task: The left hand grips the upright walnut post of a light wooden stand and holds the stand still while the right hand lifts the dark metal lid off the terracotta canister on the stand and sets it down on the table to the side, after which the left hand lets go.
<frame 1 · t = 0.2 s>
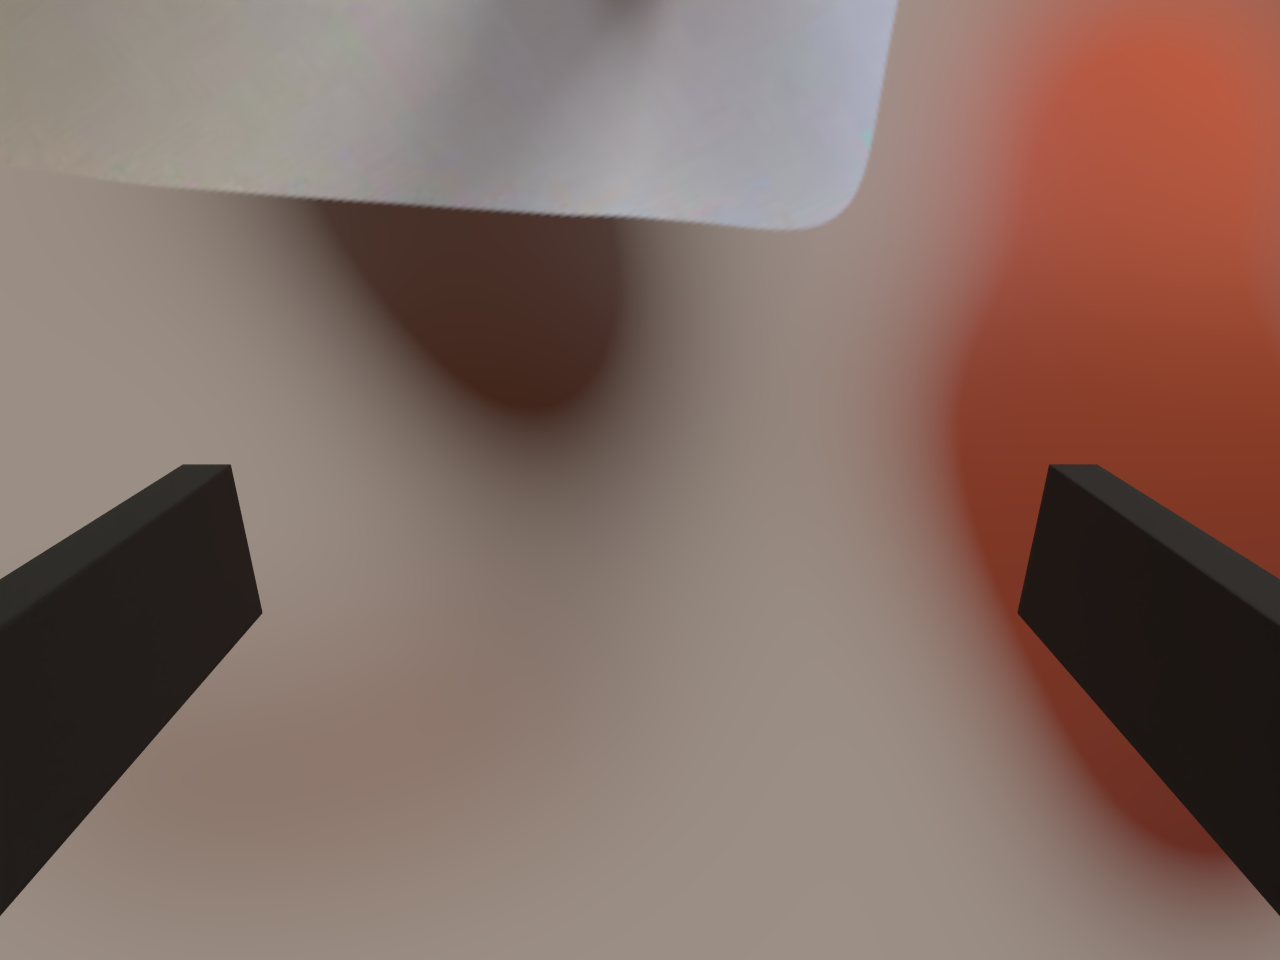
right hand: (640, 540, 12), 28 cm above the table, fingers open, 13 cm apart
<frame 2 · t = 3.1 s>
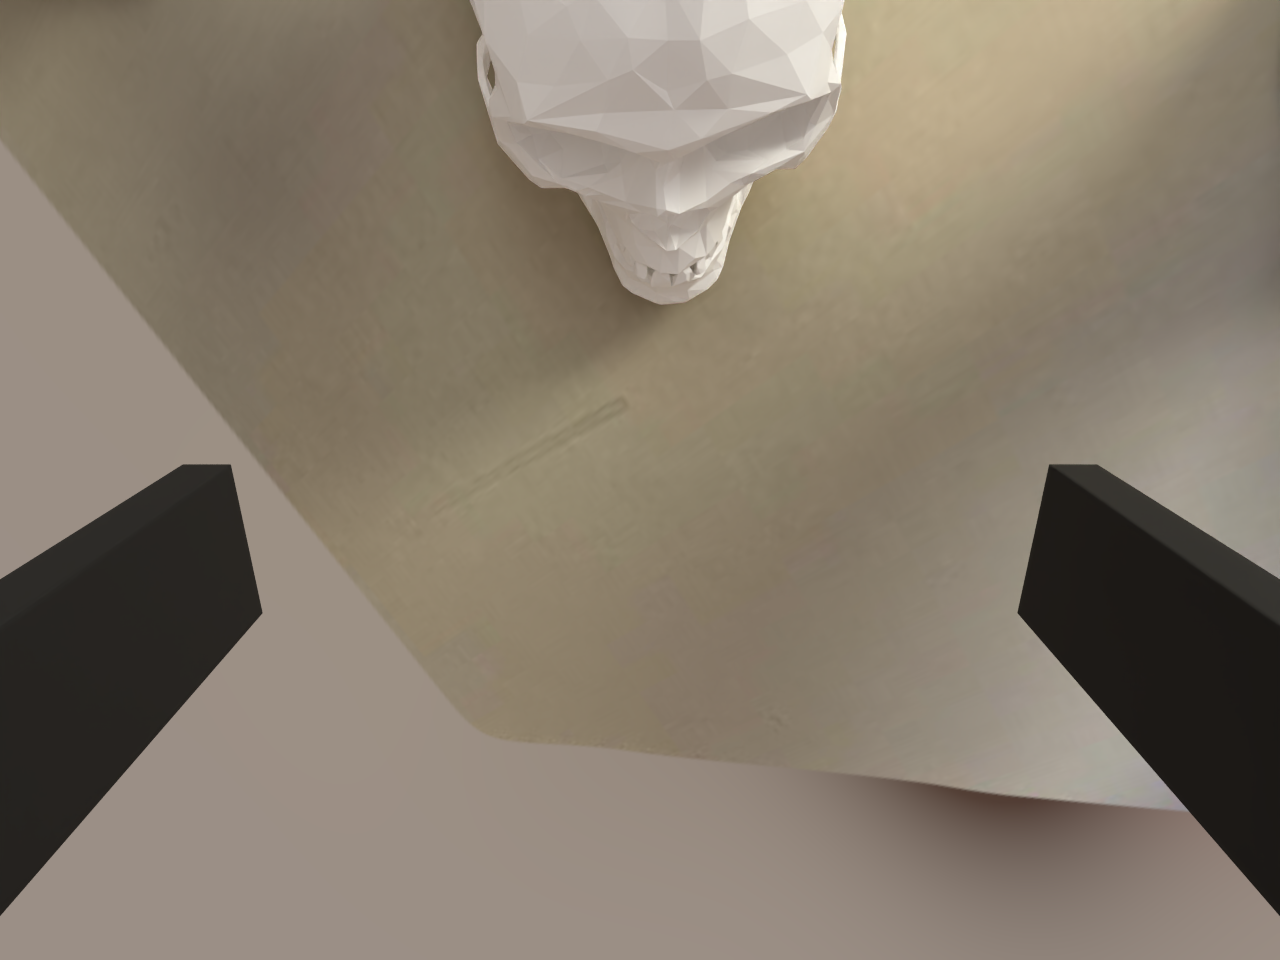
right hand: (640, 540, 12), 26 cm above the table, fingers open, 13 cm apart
skull: (656, 39, 33), on the table
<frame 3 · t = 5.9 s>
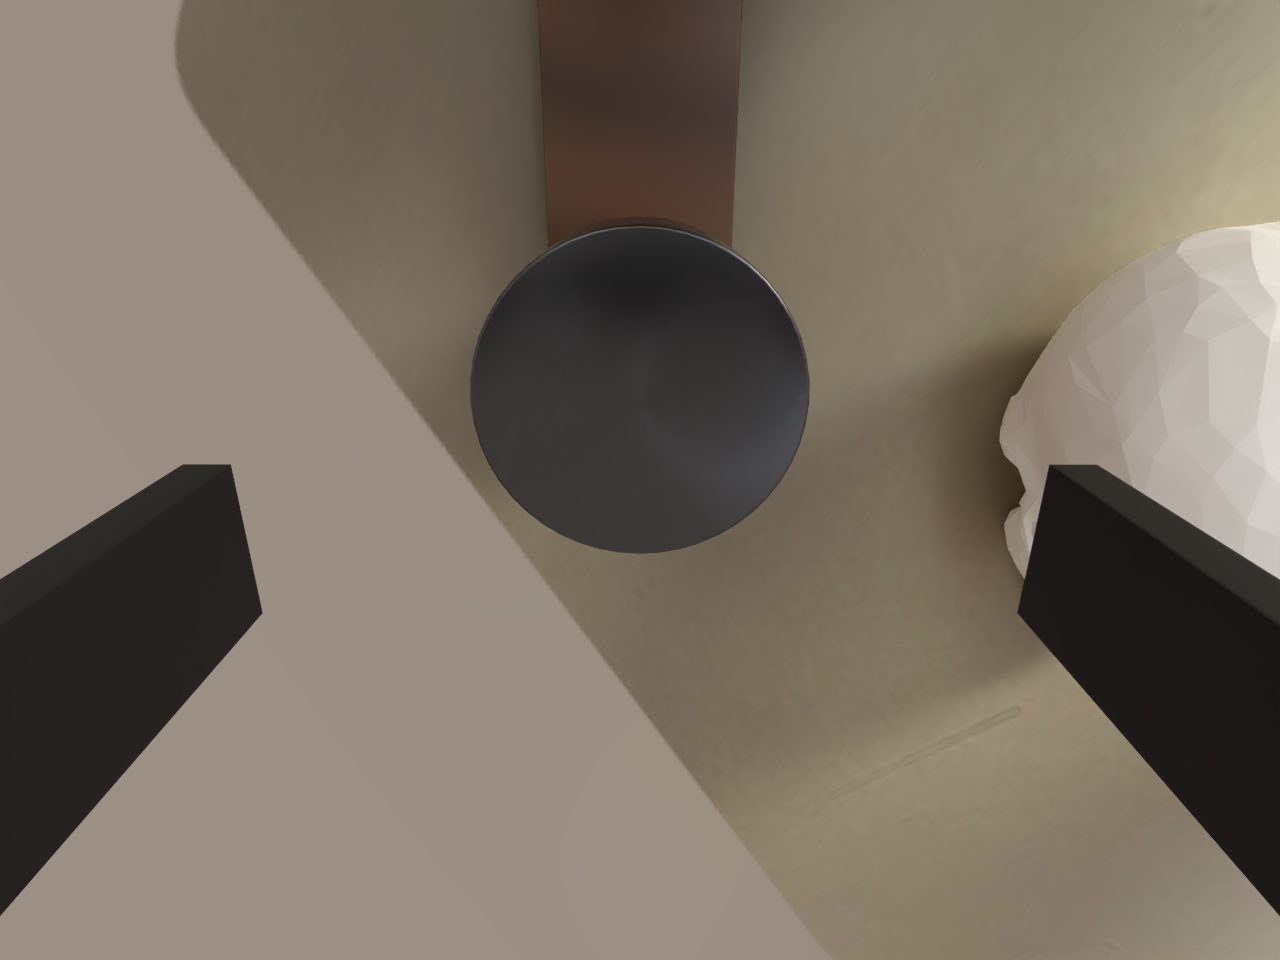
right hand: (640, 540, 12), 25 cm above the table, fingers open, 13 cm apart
canister lid: (639, 367, 24), point 13 cm above the table, touching canister stand
skull: (1098, 445, 38), on the table
canister stand: (639, 140, 33), on the table, touching canister lid, left hand
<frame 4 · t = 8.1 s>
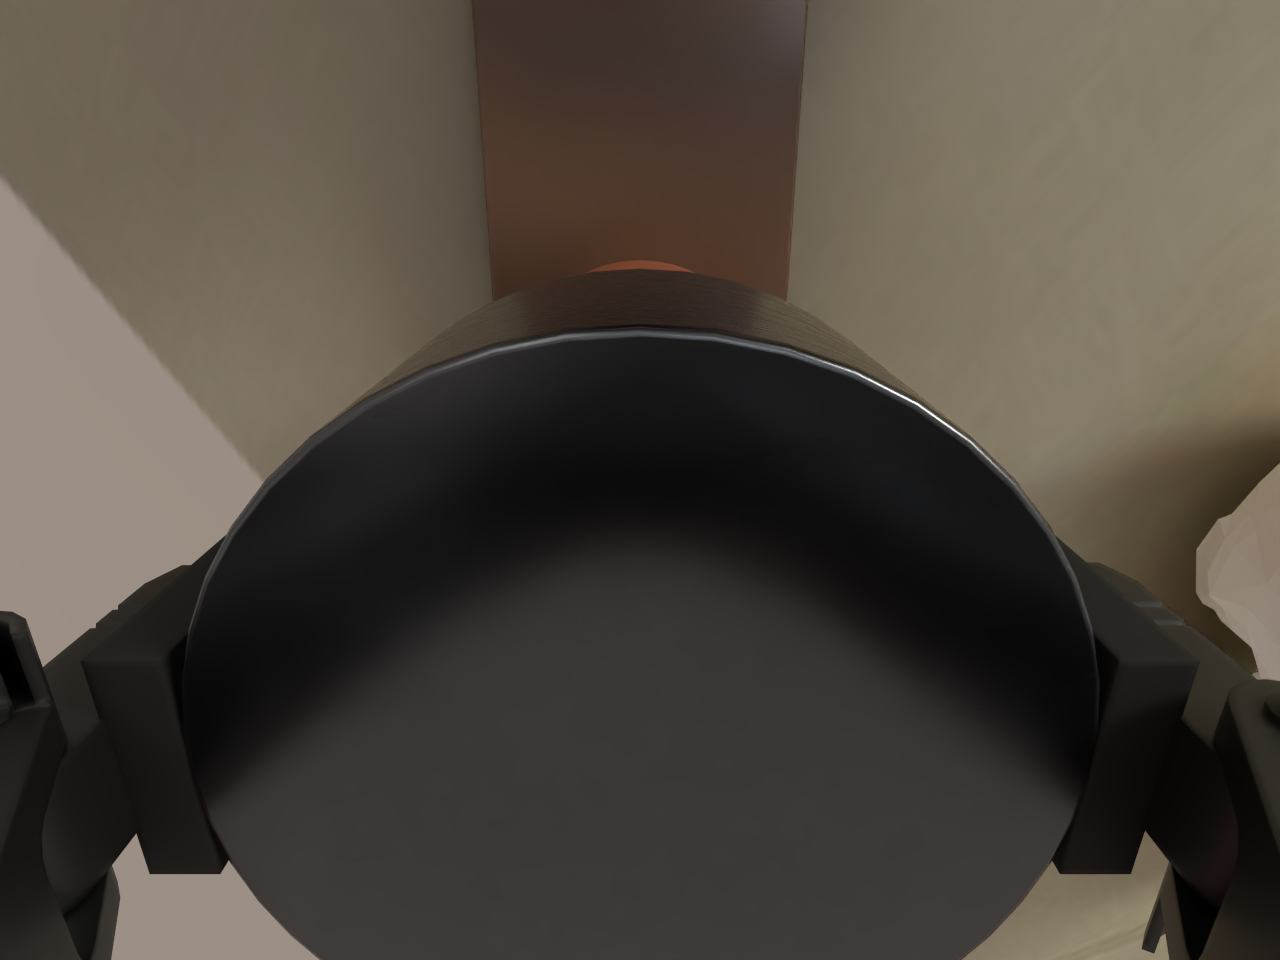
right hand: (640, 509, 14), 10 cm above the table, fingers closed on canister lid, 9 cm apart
canister lid: (640, 580, 11), point 13 cm above the table, touching canister stand, right hand
canister stand: (639, 118, 20), on the table, touching canister lid, left hand
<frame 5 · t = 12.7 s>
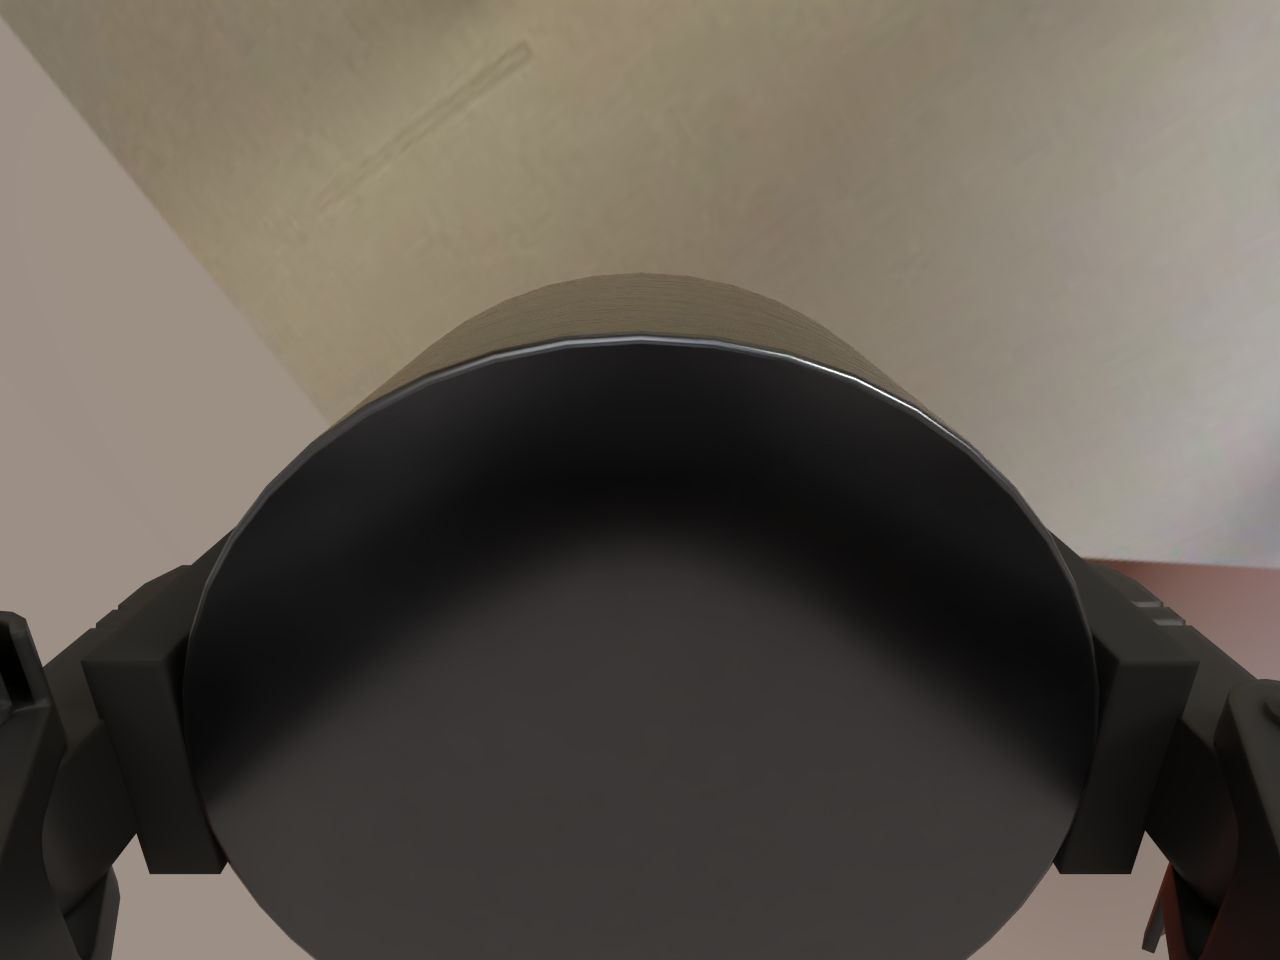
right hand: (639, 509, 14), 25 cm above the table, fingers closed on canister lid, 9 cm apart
canister lid: (640, 583, 11), point 28 cm above the table, touching right hand
when the right hand's fingers open (0 cm above the table, at t = 17.2 s): canister lid drops 3 cm, on the table.
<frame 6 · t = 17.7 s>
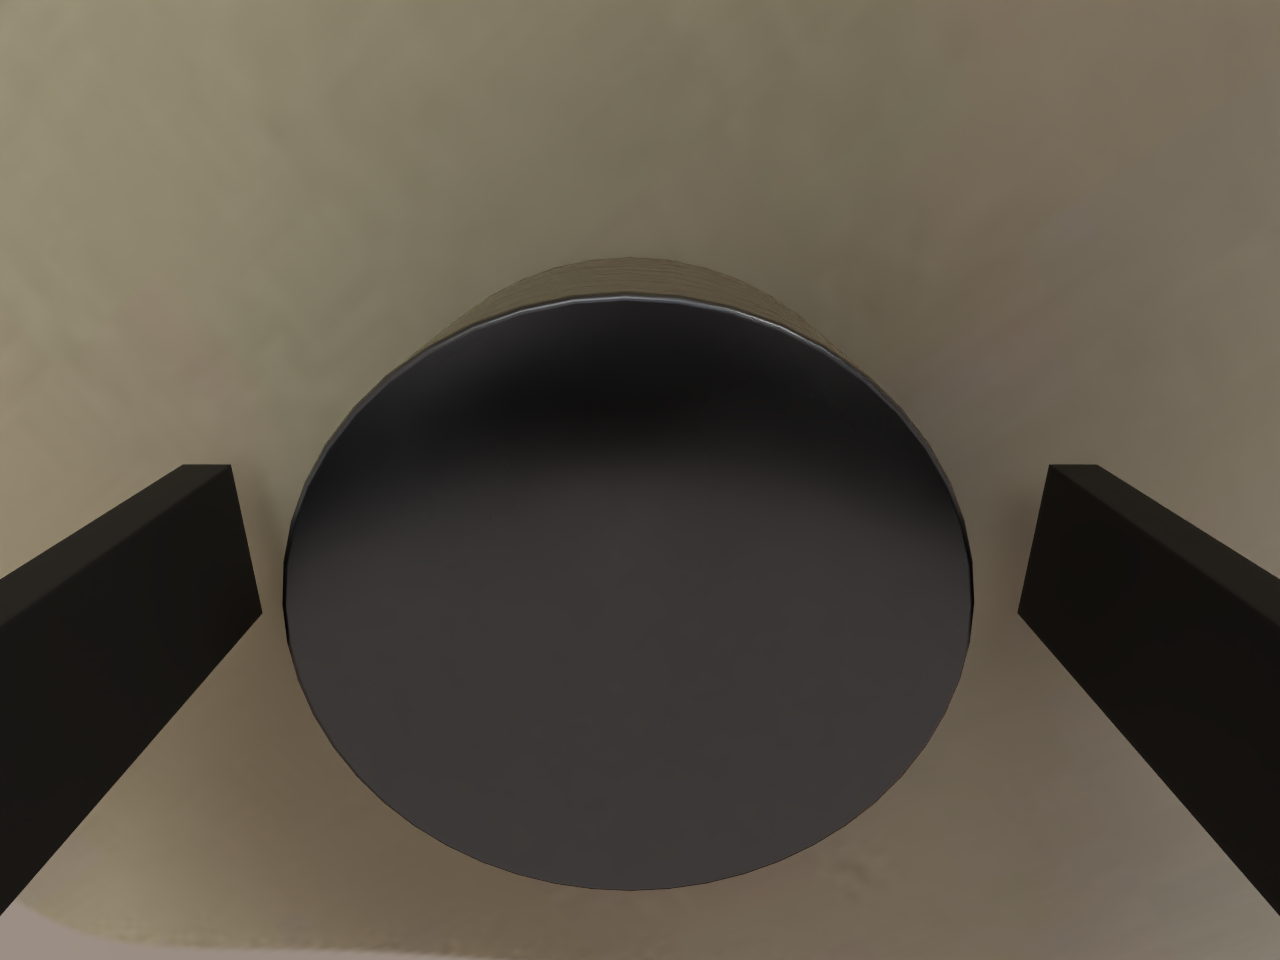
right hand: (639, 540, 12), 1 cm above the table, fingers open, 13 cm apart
canister lid: (631, 516, 14), on the table
when the left hand's fingers open (3 cm above the table, at t = 20.6 s): canister stand stays where it is, on the table.
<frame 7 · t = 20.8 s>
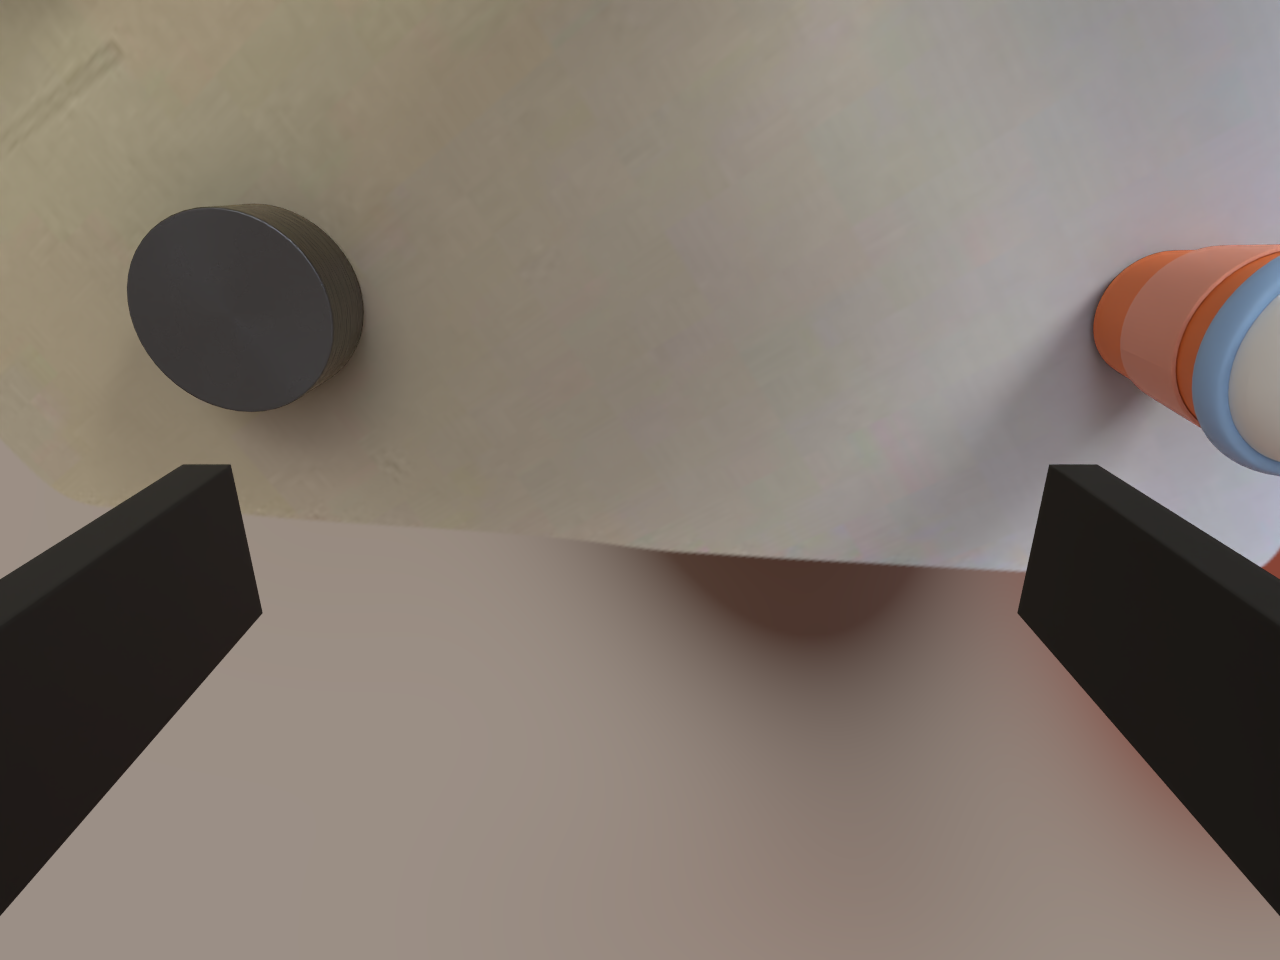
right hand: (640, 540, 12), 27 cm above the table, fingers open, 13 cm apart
canister lid: (271, 301, 37), on the table
cup with straw: (1152, 314, 38), on the table
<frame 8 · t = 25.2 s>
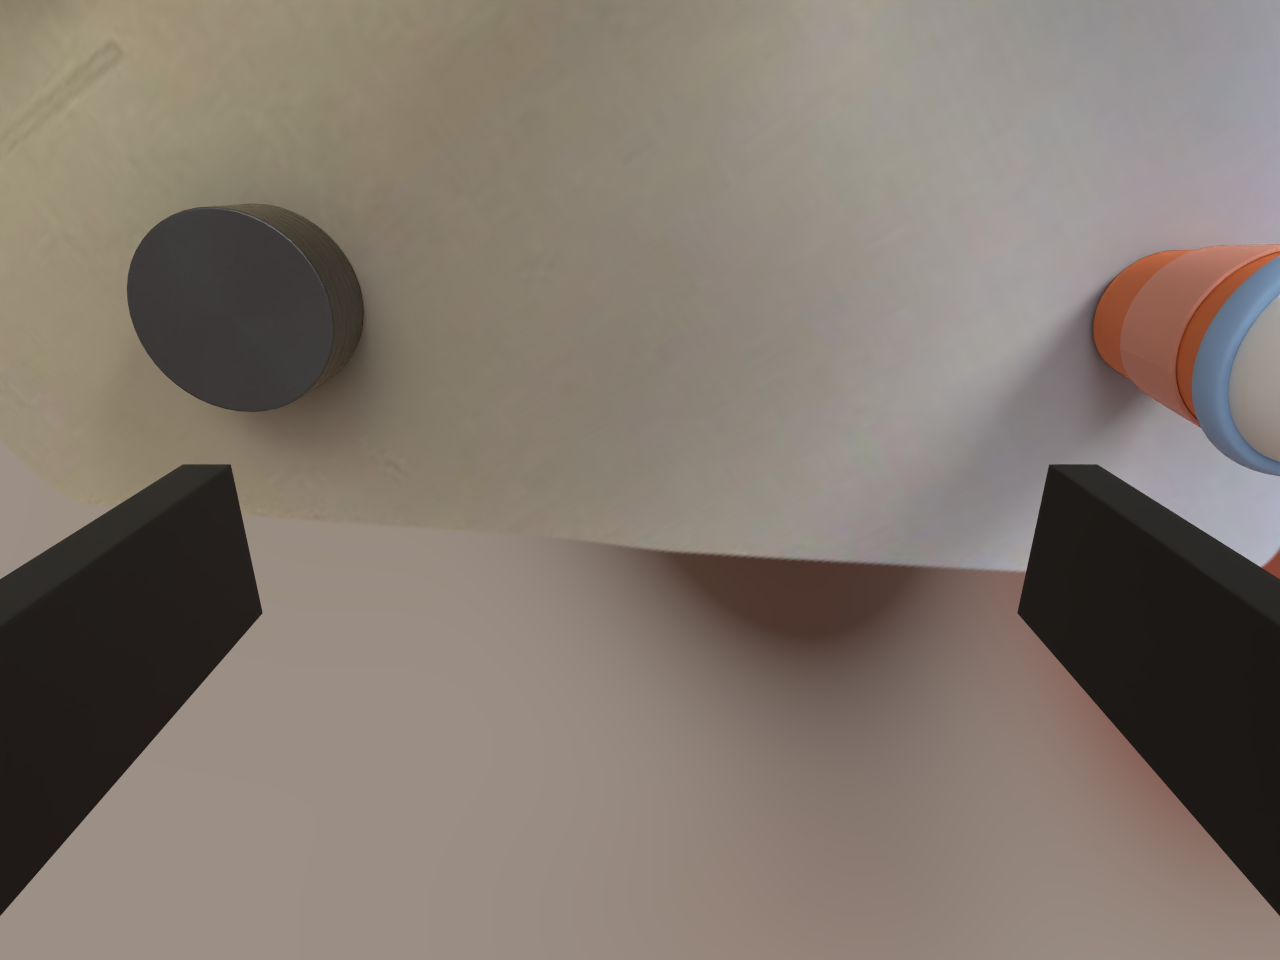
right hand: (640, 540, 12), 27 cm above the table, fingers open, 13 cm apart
canister lid: (271, 300, 37), on the table
cup with straw: (1152, 314, 38), on the table
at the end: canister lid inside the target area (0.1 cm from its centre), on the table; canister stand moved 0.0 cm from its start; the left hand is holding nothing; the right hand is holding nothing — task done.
